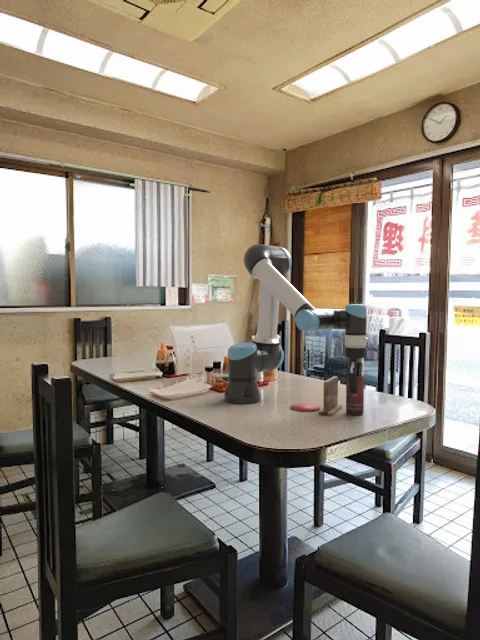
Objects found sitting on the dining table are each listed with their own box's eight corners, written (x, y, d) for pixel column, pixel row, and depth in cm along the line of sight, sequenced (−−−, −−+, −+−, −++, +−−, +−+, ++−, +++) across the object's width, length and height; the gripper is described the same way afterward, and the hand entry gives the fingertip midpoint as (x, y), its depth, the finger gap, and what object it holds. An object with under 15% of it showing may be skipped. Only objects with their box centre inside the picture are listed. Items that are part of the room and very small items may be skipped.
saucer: (286, 409, 169) (286, 408, 169) (296, 403, 178) (296, 402, 178) (314, 412, 164) (314, 411, 164) (323, 406, 173) (323, 405, 173)
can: (364, 416, 159) (365, 377, 158) (346, 415, 160) (346, 376, 159) (363, 412, 165) (363, 374, 164) (345, 411, 166) (346, 373, 165)
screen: (318, 414, 161) (318, 381, 161) (329, 406, 174) (329, 375, 173) (332, 416, 159) (332, 382, 159) (342, 407, 171) (342, 376, 171)
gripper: (362, 348, 154) (361, 416, 155) (369, 345, 165) (369, 408, 166) (340, 347, 157) (340, 414, 158) (349, 344, 169) (349, 406, 170)
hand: (355, 411), depth 162 cm, fingers closed
